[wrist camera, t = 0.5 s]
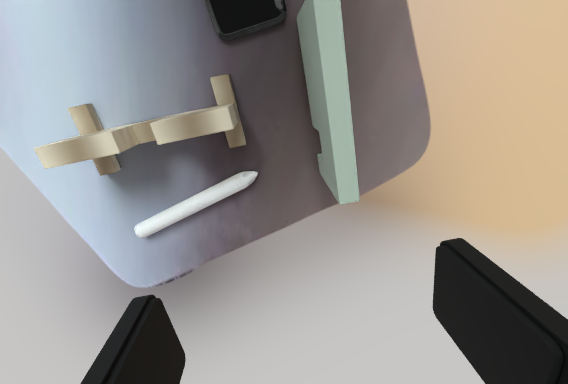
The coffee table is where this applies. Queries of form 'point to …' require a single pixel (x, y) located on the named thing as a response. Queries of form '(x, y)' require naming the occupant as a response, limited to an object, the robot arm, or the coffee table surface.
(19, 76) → the coffee table surface
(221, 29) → the phone
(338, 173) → the mint green slab
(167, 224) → the marker
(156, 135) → the slotted wooden stand
